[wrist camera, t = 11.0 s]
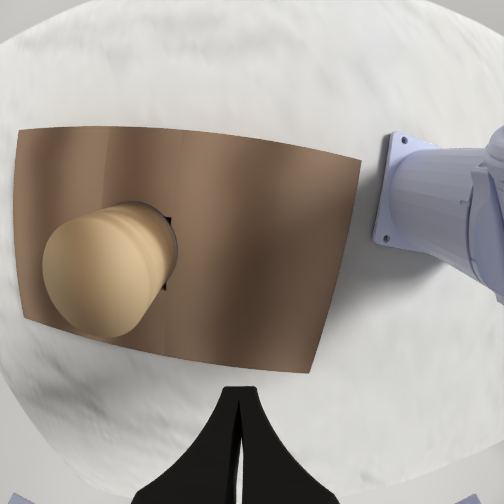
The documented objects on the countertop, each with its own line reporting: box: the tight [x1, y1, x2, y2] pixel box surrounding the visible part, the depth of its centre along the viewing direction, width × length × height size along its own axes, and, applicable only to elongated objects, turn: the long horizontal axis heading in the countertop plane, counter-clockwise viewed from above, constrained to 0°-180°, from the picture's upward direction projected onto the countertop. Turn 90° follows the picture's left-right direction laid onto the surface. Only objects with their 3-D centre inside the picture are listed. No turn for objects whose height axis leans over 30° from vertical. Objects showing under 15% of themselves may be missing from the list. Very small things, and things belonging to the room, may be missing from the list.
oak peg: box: [42, 201, 178, 338], centre depth 15 cm, size 6×6×8 cm
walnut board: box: [13, 126, 362, 373], centre depth 18 cm, size 22×14×3 cm, turn 81°
